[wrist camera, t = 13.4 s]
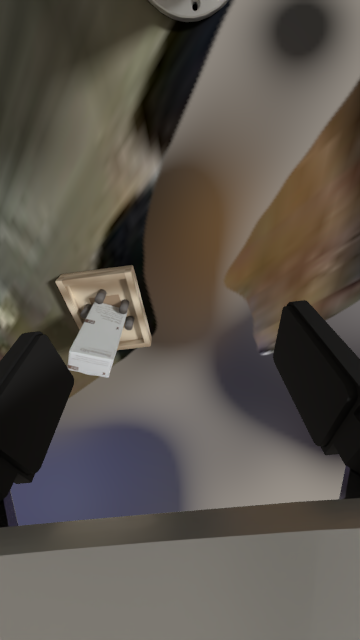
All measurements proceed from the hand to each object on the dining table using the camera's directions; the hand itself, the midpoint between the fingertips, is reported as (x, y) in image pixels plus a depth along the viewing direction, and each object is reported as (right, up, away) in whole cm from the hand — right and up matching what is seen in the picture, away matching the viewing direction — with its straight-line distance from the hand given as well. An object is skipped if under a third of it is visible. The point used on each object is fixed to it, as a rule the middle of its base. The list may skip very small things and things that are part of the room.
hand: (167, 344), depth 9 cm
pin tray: (-12, +3, +33) cm, 35 cm away
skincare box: (-13, +2, +32) cm, 34 cm away
